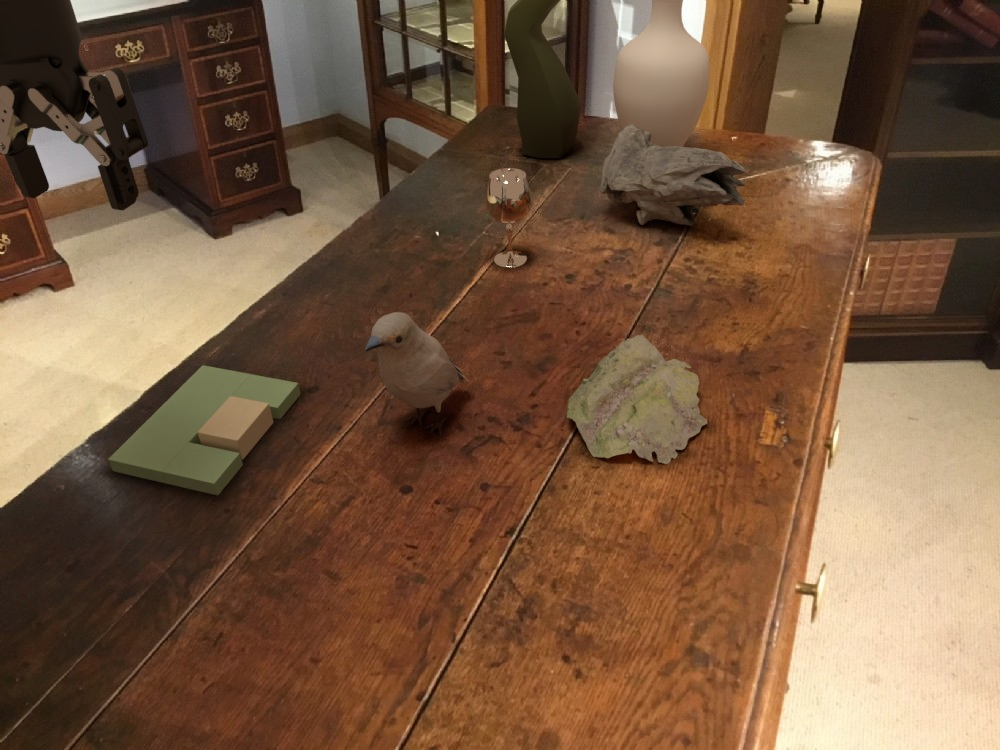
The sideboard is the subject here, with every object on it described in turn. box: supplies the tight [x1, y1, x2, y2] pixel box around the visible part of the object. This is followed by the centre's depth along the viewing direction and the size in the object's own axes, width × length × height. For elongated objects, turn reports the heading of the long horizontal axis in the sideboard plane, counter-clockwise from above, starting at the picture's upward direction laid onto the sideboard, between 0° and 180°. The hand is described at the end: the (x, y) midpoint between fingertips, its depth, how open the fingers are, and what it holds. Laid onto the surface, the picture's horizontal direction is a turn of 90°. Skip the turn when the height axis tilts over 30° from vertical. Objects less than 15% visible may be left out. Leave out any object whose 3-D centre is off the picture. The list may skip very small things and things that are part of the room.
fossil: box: [599, 125, 746, 227], centre depth 119 cm, size 20×18×15 cm
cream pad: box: [197, 396, 274, 461], centre depth 86 cm, size 6×5×3 cm
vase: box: [612, 0, 711, 147], centre depth 129 cm, size 14×14×28 cm
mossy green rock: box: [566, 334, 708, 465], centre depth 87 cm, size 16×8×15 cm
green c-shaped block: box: [107, 365, 302, 496], centre depth 87 cm, size 16×12×2 cm
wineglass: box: [485, 167, 532, 269], centre depth 111 cm, size 6×6×12 cm
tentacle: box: [503, 0, 583, 159], centre depth 135 cm, size 9×12×30 cm
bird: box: [363, 311, 470, 436], centre depth 83 cm, size 5×14×15 cm, turn 145°
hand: (81, 200), depth 67 cm, fingers open, 8 cm apart
